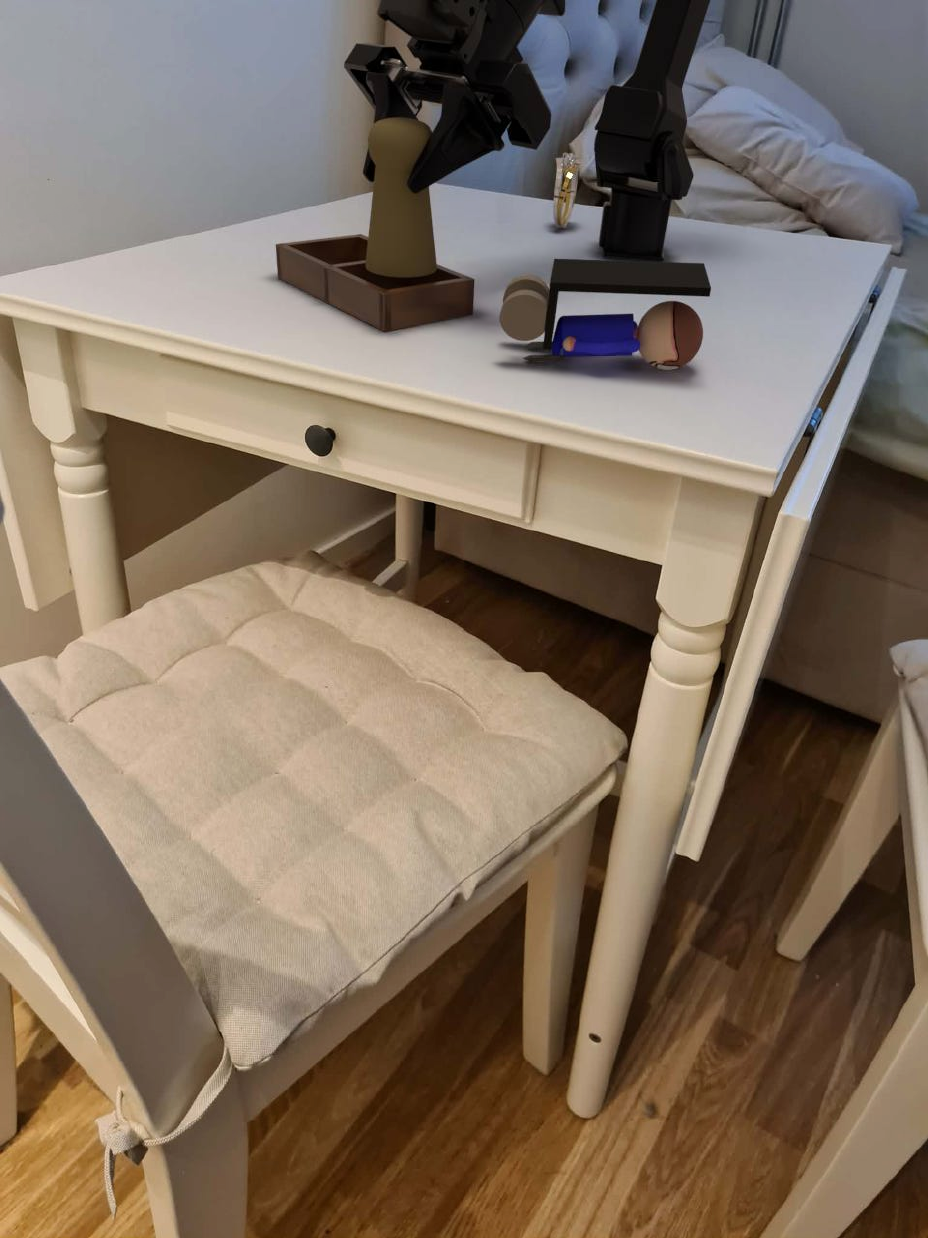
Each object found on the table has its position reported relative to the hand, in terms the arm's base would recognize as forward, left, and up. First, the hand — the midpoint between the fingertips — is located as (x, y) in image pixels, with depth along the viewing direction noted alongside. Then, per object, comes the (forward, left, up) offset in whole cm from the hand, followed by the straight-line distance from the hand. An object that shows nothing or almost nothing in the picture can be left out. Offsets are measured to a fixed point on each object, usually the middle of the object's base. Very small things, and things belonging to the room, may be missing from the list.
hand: (388, 183), depth 70 cm
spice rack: (+2, -4, -10) cm, 11 cm away
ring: (-14, -38, -10) cm, 42 cm away
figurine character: (-18, +8, -10) cm, 22 cm away
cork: (-1, -1, -7) cm, 7 cm away
